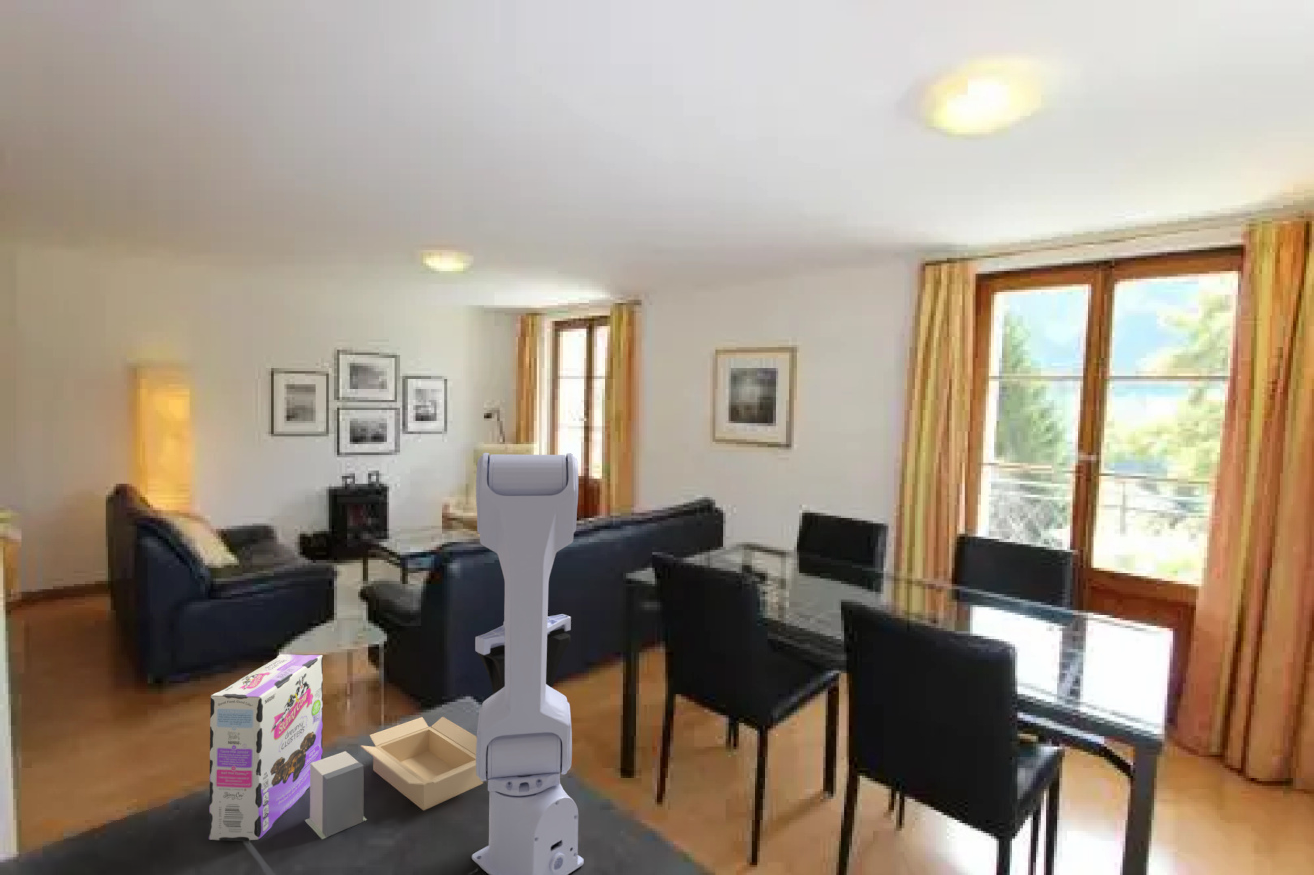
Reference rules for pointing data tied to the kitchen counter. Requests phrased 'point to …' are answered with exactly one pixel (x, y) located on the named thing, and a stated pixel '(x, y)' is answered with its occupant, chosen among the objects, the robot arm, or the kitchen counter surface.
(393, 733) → the carton
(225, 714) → the candy box
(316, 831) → the mat
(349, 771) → the block
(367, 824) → the kitchen counter surface
